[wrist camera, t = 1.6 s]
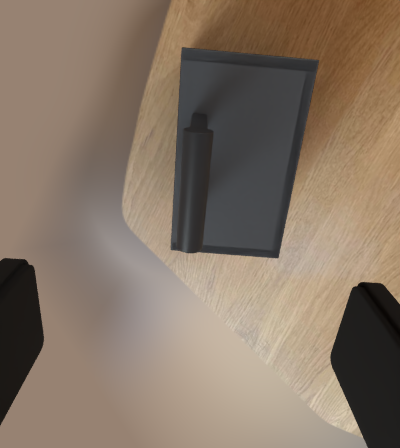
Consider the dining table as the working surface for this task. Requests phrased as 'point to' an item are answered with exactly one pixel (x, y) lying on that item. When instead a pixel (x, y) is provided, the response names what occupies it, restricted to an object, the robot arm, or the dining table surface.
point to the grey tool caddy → (237, 149)
